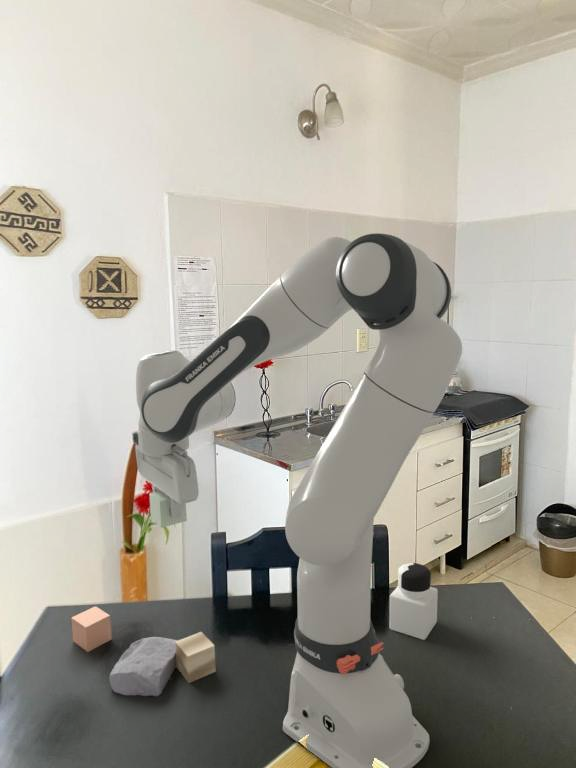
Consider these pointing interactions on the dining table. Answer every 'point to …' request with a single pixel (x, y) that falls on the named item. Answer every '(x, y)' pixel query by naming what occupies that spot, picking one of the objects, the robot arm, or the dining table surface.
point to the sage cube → (164, 510)
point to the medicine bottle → (413, 602)
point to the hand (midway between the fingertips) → (168, 511)
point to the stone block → (144, 667)
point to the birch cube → (195, 657)
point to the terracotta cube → (91, 628)
